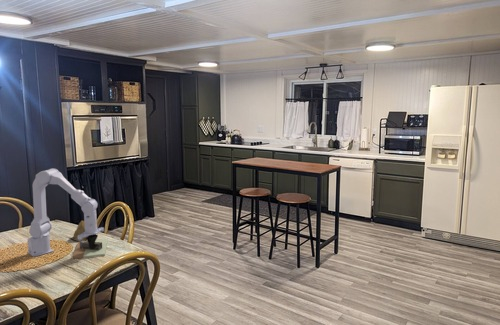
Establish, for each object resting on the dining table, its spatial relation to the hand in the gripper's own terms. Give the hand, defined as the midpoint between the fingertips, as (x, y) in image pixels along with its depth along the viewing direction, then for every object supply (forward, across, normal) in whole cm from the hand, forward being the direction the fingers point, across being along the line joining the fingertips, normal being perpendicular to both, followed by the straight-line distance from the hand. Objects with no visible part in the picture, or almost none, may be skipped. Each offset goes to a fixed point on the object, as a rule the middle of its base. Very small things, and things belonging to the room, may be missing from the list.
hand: (91, 248), depth 177 cm
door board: (+2, +3, +4) cm, 5 cm away
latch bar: (+1, +2, +2) cm, 3 cm away
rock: (+2, +11, +22) cm, 25 cm away
